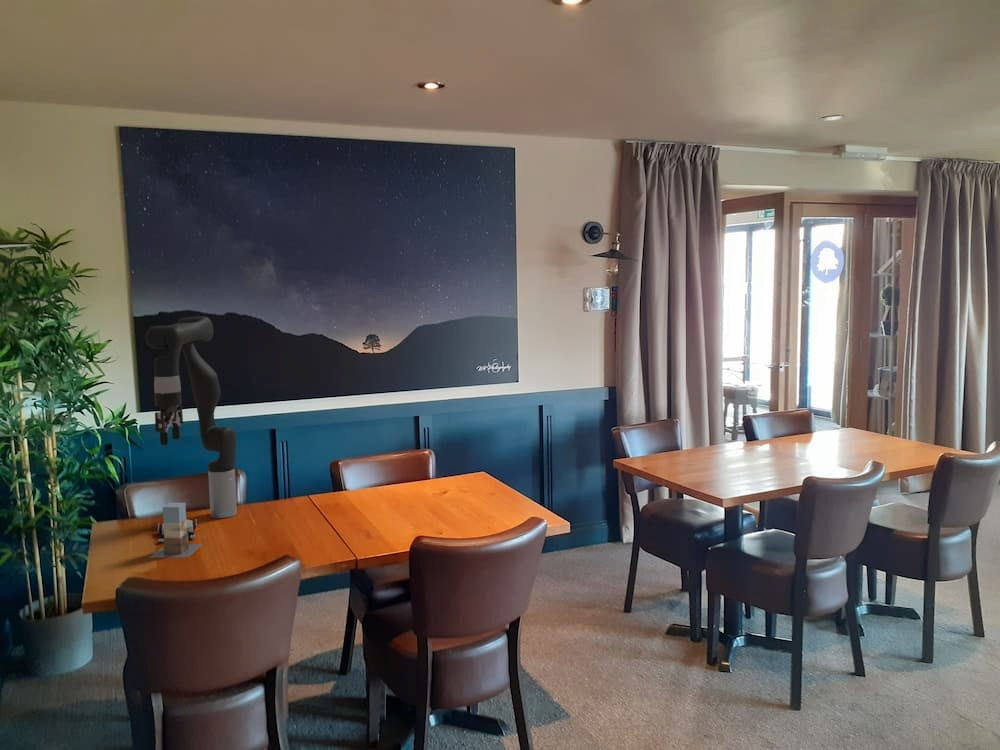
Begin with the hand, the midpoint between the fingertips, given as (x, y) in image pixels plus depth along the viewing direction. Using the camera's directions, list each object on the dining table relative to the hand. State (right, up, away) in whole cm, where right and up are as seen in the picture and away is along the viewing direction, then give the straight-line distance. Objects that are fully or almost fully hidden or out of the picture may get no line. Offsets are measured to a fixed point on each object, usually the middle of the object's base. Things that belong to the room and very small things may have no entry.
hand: (170, 441), depth 234 cm
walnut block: (0, -35, +4) cm, 35 cm away
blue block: (0, -25, +3) cm, 25 cm away
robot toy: (-6, -35, +19) cm, 40 cm away
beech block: (0, -30, +3) cm, 30 cm away
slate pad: (0, -36, +4) cm, 36 cm away
